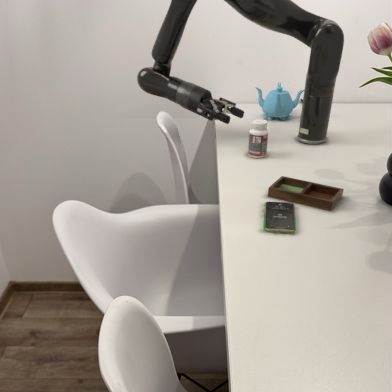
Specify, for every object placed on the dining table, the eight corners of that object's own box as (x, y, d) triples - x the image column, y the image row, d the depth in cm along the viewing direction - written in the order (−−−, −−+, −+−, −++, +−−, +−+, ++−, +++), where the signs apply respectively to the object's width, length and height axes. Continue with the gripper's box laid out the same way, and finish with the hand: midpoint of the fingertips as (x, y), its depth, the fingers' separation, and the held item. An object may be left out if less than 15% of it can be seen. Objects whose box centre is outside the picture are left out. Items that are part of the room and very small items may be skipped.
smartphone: (263, 228, 113) (264, 200, 124) (263, 232, 113) (264, 204, 125) (296, 230, 112) (294, 202, 123) (295, 233, 113) (294, 205, 124)
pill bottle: (265, 159, 149) (268, 125, 142) (246, 157, 150) (249, 123, 143) (266, 152, 153) (269, 119, 146) (249, 151, 154) (251, 118, 147)
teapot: (252, 116, 182) (254, 86, 176) (278, 110, 188) (281, 81, 181) (276, 124, 174) (279, 93, 168) (302, 118, 180) (305, 87, 174)
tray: (280, 184, 134) (281, 175, 133) (341, 198, 128) (343, 188, 126) (267, 196, 128) (268, 187, 127) (331, 211, 122) (332, 201, 120)
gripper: (182, 89, 145) (227, 109, 141) (208, 81, 154) (250, 100, 150) (178, 114, 150) (221, 135, 146) (203, 106, 160) (244, 125, 155)
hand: (236, 117), depth 148 cm, fingers open, 8 cm apart
